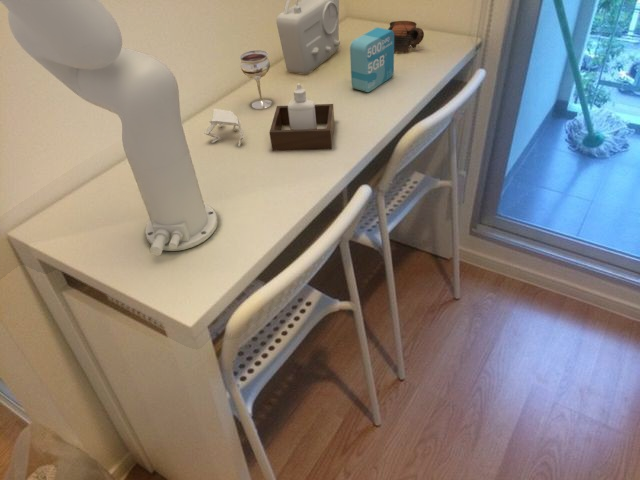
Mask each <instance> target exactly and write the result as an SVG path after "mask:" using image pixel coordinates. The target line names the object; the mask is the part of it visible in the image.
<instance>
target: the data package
mask: <svg viewBox="0 0 640 480" xmlns="http://www.w3.org/2000/svg"><path fill="white" fill-rule="evenodd" d="M349 55H350V56H349V57H350V59H349V60H350V79H351V82H350V83H351V87H352V89H354V90H359V91H362V92H365V93H370V92H371V91H373V90H375V89H376V88H377V87H379V86H380V85H381V86H382V85H383V84H384V83H385V82H387V81H389V80H390V79H391V78H392V77H393V75H394V72H395V69H394V68H395V51H394V32H393V31H392V30H388V28H387V29H386V28H382V27H375V28H373V29H371V30H370V31H368V32H365V33H364V34H362V35H360V36H358V37H357V38H354V39H353V40H352V41H351V43H350V47H349Z"/></svg>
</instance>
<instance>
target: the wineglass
mask: <svg viewBox="0 0 640 480" xmlns="http://www.w3.org/2000/svg"><path fill="white" fill-rule="evenodd" d="M268 57H269V52H268V51H266V50H261V49H254V50H248V51H245V52H243V53H242V54H240V55H239V60H240V61H241V62H240V70H241V71H242V73H243V74H244V75H245V76H247V77H248V78H250V79H253V80H254V81H256V87H257V91H258V96H259V99H257V100H255V101H253V102H252V103H251V108H253V109H256V110H263V109H267V108H270V106H272V101H271V100H270V99H264V98H263V97H262V90H261V81H260V80H261V78H263V77H265V76H266V75H267V73H268V72H269V71H270V67H271V63H270V59H269V58H268Z"/></svg>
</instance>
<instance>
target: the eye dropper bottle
mask: <svg viewBox="0 0 640 480" xmlns="http://www.w3.org/2000/svg"><path fill="white" fill-rule="evenodd" d="M293 98H294V99H293V100H291V101H290V102H288V105H287V106H288V114H289V123H290V125H289V130H297V129H318V126H317V125H318V124H316V114H315V105H316V104H315V102H314V101H313V100H311V99H307V93H306V88H303V87H302V85H301V83H296V88H295V89H294V90H293Z"/></svg>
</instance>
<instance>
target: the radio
mask: <svg viewBox="0 0 640 480" xmlns="http://www.w3.org/2000/svg"><path fill="white" fill-rule="evenodd" d="M290 3H291V0H286V2H285V6H284V10H283V12H281V13H279V14H278V15H277V16H276V27H277V31H278V37H279V41H280V46H281V50H282V55H283V60H284V65H285V68H286V71H288V72H290V73H295V74H302V75H308V74H310V73H311V72H312V71H313V70H315V69H316V68H317V67H319V66H320V65H321V64H323V63H324V62H325V61H327V60H328V59H329V58H330V57H331V56H333V55H334V54H335V53H337V51H338V50H339V46H340V45H341V42H340V41H339V35H340V29H339V28H340V25H339V24H340V23H339V22H340V0H300V1H299V0H295V4H294V5H292V6H290Z"/></svg>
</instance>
